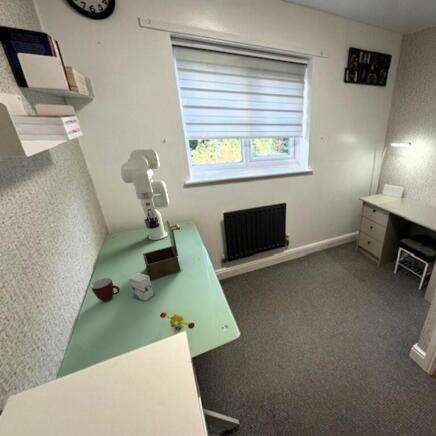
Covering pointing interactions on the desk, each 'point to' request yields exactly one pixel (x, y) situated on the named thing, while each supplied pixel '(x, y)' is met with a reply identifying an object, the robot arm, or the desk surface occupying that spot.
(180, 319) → the spiky dumbbell toy
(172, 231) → the lid
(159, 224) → the bowl
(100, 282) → the mug
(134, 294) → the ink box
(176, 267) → the chest
